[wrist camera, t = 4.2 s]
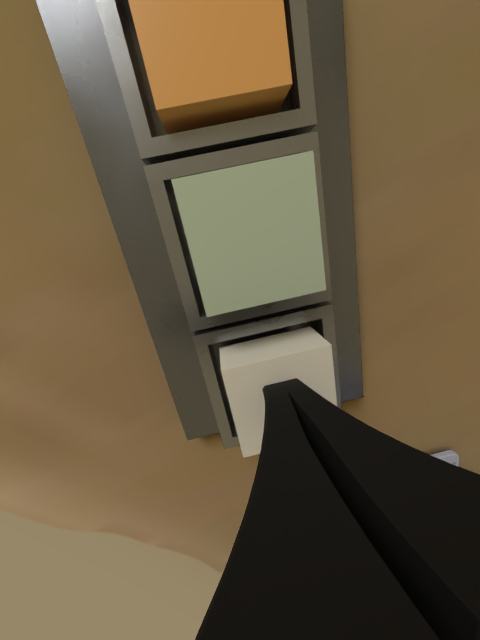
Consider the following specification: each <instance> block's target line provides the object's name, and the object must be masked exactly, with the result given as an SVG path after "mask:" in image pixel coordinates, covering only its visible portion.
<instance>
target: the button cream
mask: <svg viewBox="0 0 480 640" xmlns="http://www.w3.org/2000/svg"><path fill="white" fill-rule="evenodd" d="M219 351H220V366H221V373H222V377H223V381H224V385H225V389H226V393H227V396H228V400H229V404H230V408H231V412H232V416H233V419H234V423H235V427H236V431H237V435H238V439H239V443H240V446H241V450H242V454H243V458H244V457H248V456H252V455H256V454H260V451H261V445H262V438H263V431H264V419H265V400H264V395H263V390H262V389H263V388H264V386H266V385H270V384H274V383H278V382H282V381H287V380H291V379H295V378H297V379H299V380H300V381H302V382H303V383H304V384H306V385H307V386H308V387H310V388H311V389H312V390H314V391H315V392H317V393H318V394H319V395H321V396H322V397H324V398H325V399H326V400H328V401H329V402H331V403H332V404H334V405H336V406H337V399H336V388H335V377H334V367H333V356H332V345H331V344H330V343H329V342H328V341H327V340H325V339H324V338H323V337H322V336H321V335H320V334H318V333H317V332H316V331H315V330H314V329H312V328H311V327H306V328H301V329H297V330H293V331H288V332H284V333H280V334H276V335H271V336H267V337H263V338H258V339H254V340H250V341H246V342H241V343H237V344H233V345H229V346H224V347H220V348H219Z"/></svg>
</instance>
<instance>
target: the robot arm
mask: <svg viewBox="0 0 480 640" xmlns="http://www.w3.org/2000/svg"><path fill="white" fill-rule="evenodd" d="M262 390H263V395H264V400H265V419H264V431H263V438H262V445H261V451H260V457H259V462H258V466H257V471H256V475H255V479H254V483H253V486H252V490H251V494H250V497H249V501H248V504H247V508H246V511H245V514H244V517H243V520H242V523H241V526H240V529H239V531H238V534H237V537H236V540H235V543H234V545H233V548H232V551H231V554H230V556H229V559H228V562H227V564H226V567H225V570H224V572H223V575H222V577H221V580H220V582H219V584H218V587H217V589H216V591H215V594H214V596H213V599H212V601H211V603H210V605H209V608H208V610H207V613H206V615H205V617H204V620H203V622H202V625H201V627H200V629H199V631H198V634H197V636H196V639H195V640H480V475H479V474H476V473H474V472H471V471H468V470H466V469H463V468H461V467H458V464H459V455H458V454H457V453H456V452H455V451H453V450H447V451H443V452H439V453H435V454H432V455H429V454H426V453H424V452H422V451H419V450H417V449H415V448H413V447H411V446H408V445H406V444H404V443H402V442H400V441H398V440H396V439H394V438H392V437H390V436H388V435H386V434H384V433H382V432H380V431H378V430H376V429H374V428H372V427H370V426H368V425H367V424H365V423H363V422H361V421H360V420H358V419H356V418H355V417H353V416H351V415H350V414H348V413H346V412H345V411H343V410H342V409H340V408H339V407H337V406H336V405H334V404H332V403H331V402H329V401H328V400H326V399H325V398H324V397H322V396H321V395H319V394H318V393H317V392H315V391H314V390H312V389H311V388H310V387H308V386H307V385H306V384H304V383H303V382H302V381H300V380H299V379H297V378H295V379H291V380H287V381H282V382H278V383H274V384H270V385H266V386H264V388H263V389H262Z"/></svg>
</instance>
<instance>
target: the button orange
mask: <svg viewBox="0 0 480 640" xmlns="http://www.w3.org/2000/svg"><path fill="white" fill-rule="evenodd" d="M128 2H129V6H130V10H131V14H132V17H133V21H134V25H135V29H136V33H137V37H138V41H139V45H140V49H141V52H142V56H143V60H144V64H145V68H146V72H147V76H148V80H149V84H150V88H151V91H152V95H153V99H154V103H155V107H156V111H157V113H158V115H159V118H160V120H161V122H162V125H163V127H164V130H165V132H166V134H167V135H168V134H173V133H178V132H183V131H188V130H193V129H199V128H204V127H209V126H214V125H219V124H224V123H229V122H234V121H239V120H244V119H249V118H254V117H260V116H265V115H270V114H275V113H278V111H279V109H280V107H281V106H282V104H283V102H284V100H285V98H286V96H287V94H288V92H289V90H290V88H291V86H292V75H291V66H290V57H289V48H288V38H287V29H286V20H285V11H284V2H283V0H128Z"/></svg>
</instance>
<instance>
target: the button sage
mask: <svg viewBox="0 0 480 640" xmlns="http://www.w3.org/2000/svg"><path fill="white" fill-rule="evenodd" d="M171 181H172V185H173V189H174V193H175V197H176V201H177V204H178V208H179V212H180V216H181V220H182V224H183V227H184V231H185V235H186V239H187V243H188V247H189V250H190V254H191V258H192V262H193V266H194V270H195V274H196V277H197V281H198V285H199V289H200V293H201V297H202V300H203V304H204V308H205V312H206V316H207V317H210V316H214V315H219V314H223V313H228V312H232V311H236V310H241V309H245V308H249V307H254V306H258V305H263V304H267V303H271V302H276V301H280V300H285V299H289V298H293V297H298V296H302V295H306V294H311V293H315V292H320V291H324V290H326V281H325V271H324V260H323V249H322V239H321V228H320V217H319V207H318V196H317V185H316V175H315V164H314V153H313V151H308V152H303V153H298V154H293V155H289V156H284V157H279V158H274V159H269V160H264V161H259V162H254V163H249V164H244V165H240V166H235V167H230V168H225V169H220V170H215V171H210V172H205V173H200V174H195V175H191V176H186V177H181V178H176V179H171Z"/></svg>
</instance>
